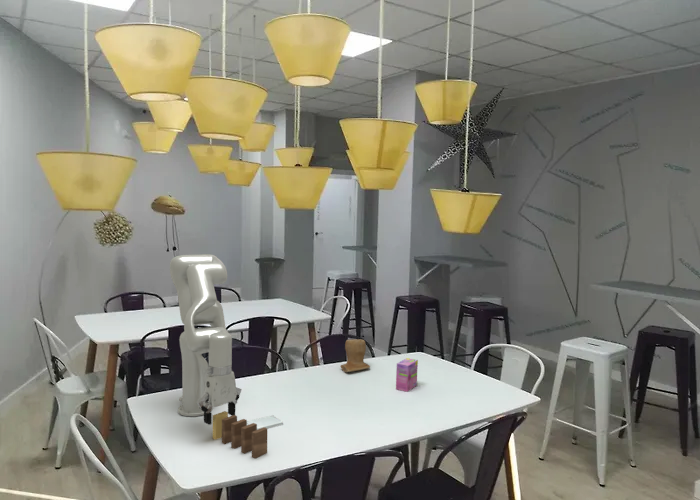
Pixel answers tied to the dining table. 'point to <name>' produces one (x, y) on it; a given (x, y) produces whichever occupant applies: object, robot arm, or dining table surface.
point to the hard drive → (266, 422)
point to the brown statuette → (355, 355)
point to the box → (406, 374)
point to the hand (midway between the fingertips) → (219, 419)
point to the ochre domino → (218, 424)
